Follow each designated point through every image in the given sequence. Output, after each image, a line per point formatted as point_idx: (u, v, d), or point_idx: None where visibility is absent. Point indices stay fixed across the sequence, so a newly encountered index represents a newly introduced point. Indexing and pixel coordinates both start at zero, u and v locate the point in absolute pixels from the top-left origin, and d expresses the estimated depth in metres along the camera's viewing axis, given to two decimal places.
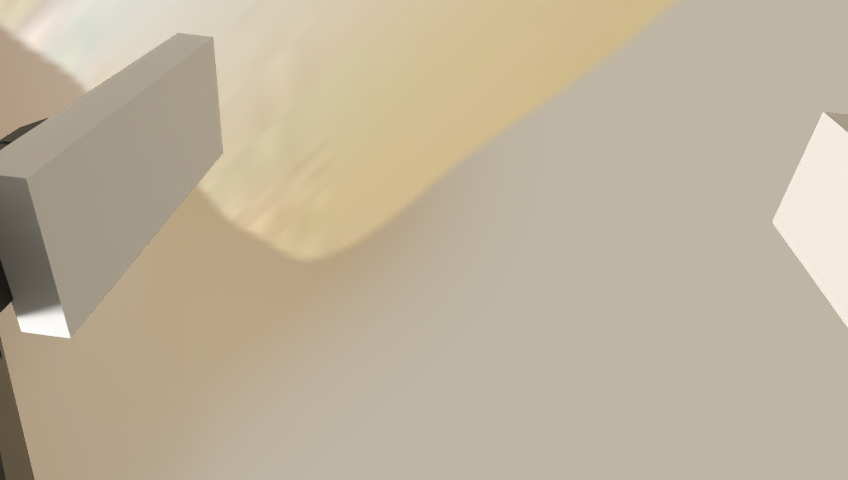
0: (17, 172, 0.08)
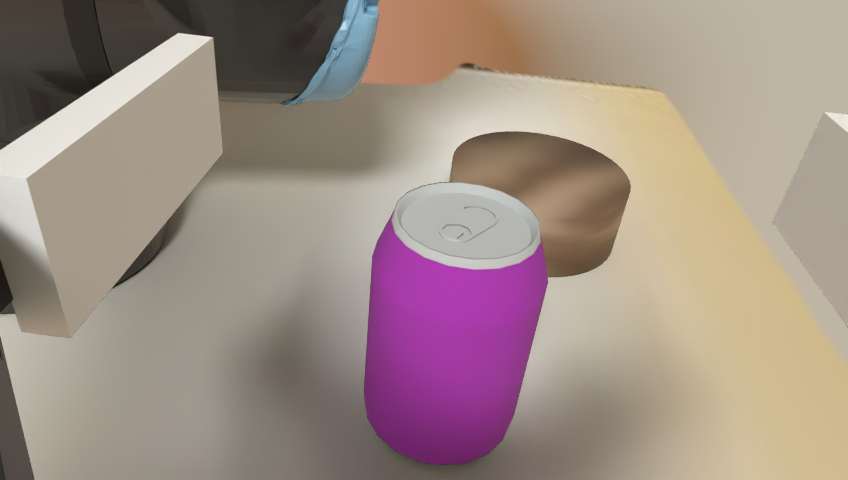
0: (17, 172, 0.08)
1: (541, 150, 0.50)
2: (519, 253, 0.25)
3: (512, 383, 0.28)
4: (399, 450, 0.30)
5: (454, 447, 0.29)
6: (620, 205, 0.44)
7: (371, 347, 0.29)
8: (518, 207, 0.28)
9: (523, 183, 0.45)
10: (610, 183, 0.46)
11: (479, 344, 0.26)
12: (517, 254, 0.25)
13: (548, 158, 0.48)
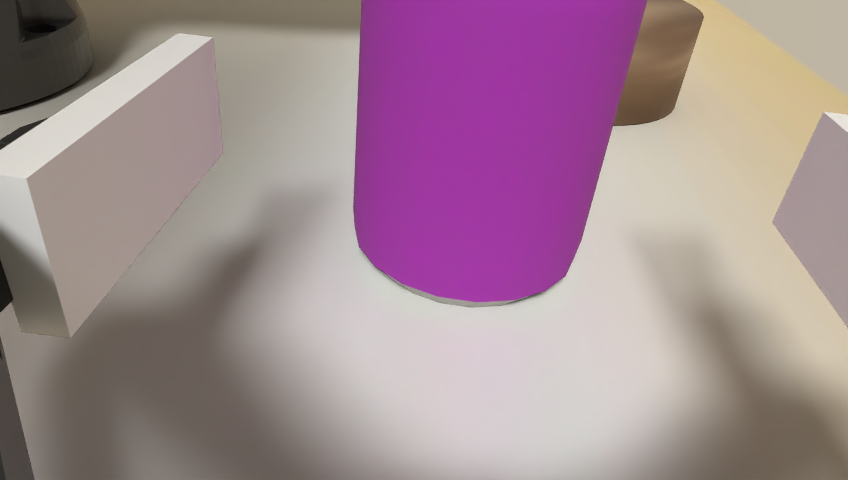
0: (17, 172, 0.08)
1: None
2: None
3: (591, 157, 0.18)
4: (408, 281, 0.19)
5: (497, 267, 0.18)
6: (694, 27, 0.33)
7: (363, 106, 0.18)
8: None
9: None
10: (676, 10, 0.35)
11: (550, 46, 0.15)
12: None
13: None
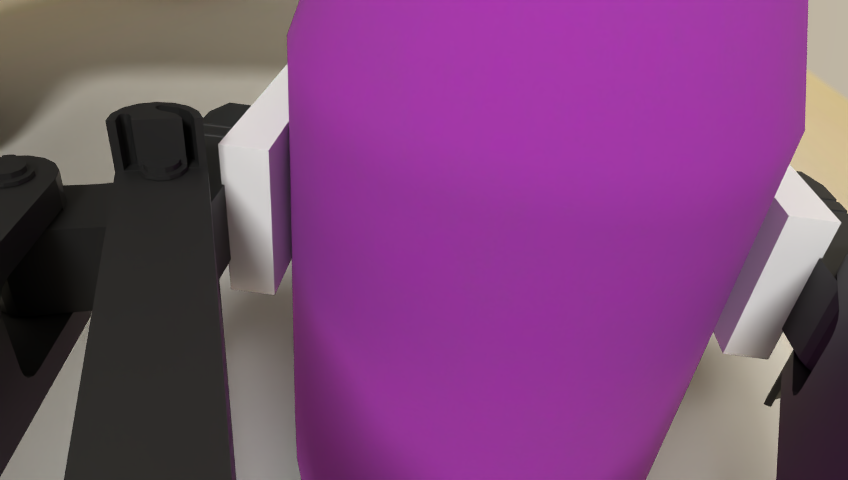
0: (257, 145, 0.09)
1: None
2: None
3: (675, 400, 0.10)
4: None
5: None
6: None
7: (295, 304, 0.11)
8: None
9: None
10: None
11: (628, 273, 0.08)
12: None
13: None
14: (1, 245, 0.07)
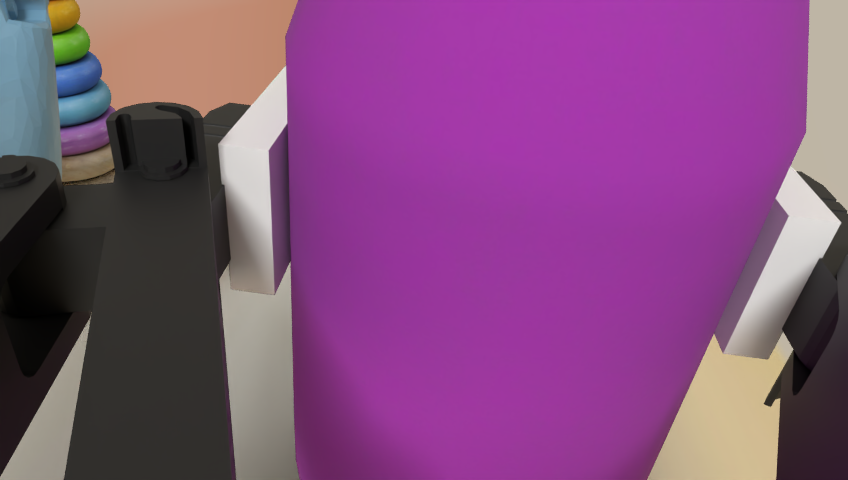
0: (257, 145, 0.09)
1: None
2: None
3: (676, 402, 0.10)
4: None
5: None
6: None
7: (293, 306, 0.11)
8: None
9: None
10: None
11: (628, 276, 0.08)
12: None
13: None
14: (1, 245, 0.07)
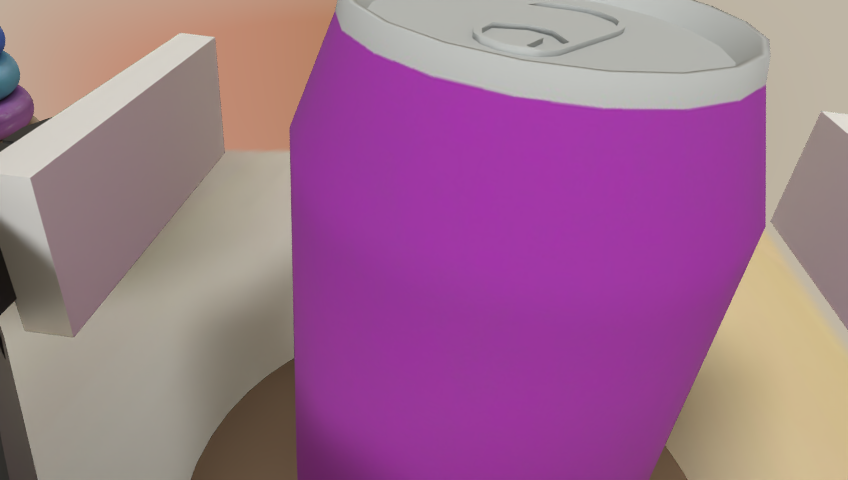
0: (21, 171, 0.08)
1: None
2: (742, 68, 0.08)
3: (651, 459, 0.11)
4: None
5: None
6: None
7: (297, 369, 0.12)
8: (668, 7, 0.11)
9: None
10: None
11: (602, 365, 0.08)
12: (738, 69, 0.07)
13: None
14: None
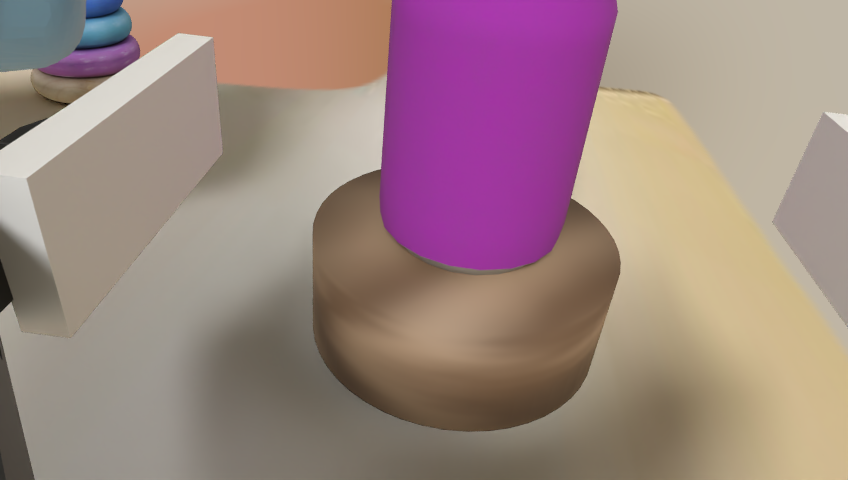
0: (17, 172, 0.08)
1: None
2: None
3: (569, 154, 0.22)
4: (425, 253, 0.24)
5: (496, 241, 0.23)
6: (601, 304, 0.24)
7: (391, 115, 0.23)
8: None
9: None
10: (585, 257, 0.26)
11: (536, 70, 0.20)
12: None
13: None
14: None
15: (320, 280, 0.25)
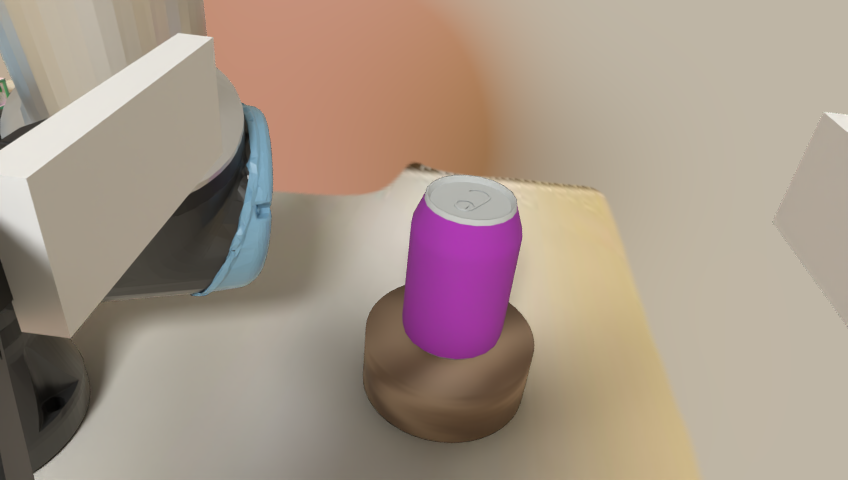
0: (17, 172, 0.08)
1: None
2: (503, 216, 0.41)
3: (500, 303, 0.44)
4: (427, 350, 0.46)
5: (463, 345, 0.45)
6: (519, 376, 0.46)
7: (410, 281, 0.45)
8: (503, 190, 0.44)
9: None
10: (514, 347, 0.48)
11: (480, 273, 0.42)
12: (502, 217, 0.41)
13: None
14: None
15: (371, 361, 0.47)
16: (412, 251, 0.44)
